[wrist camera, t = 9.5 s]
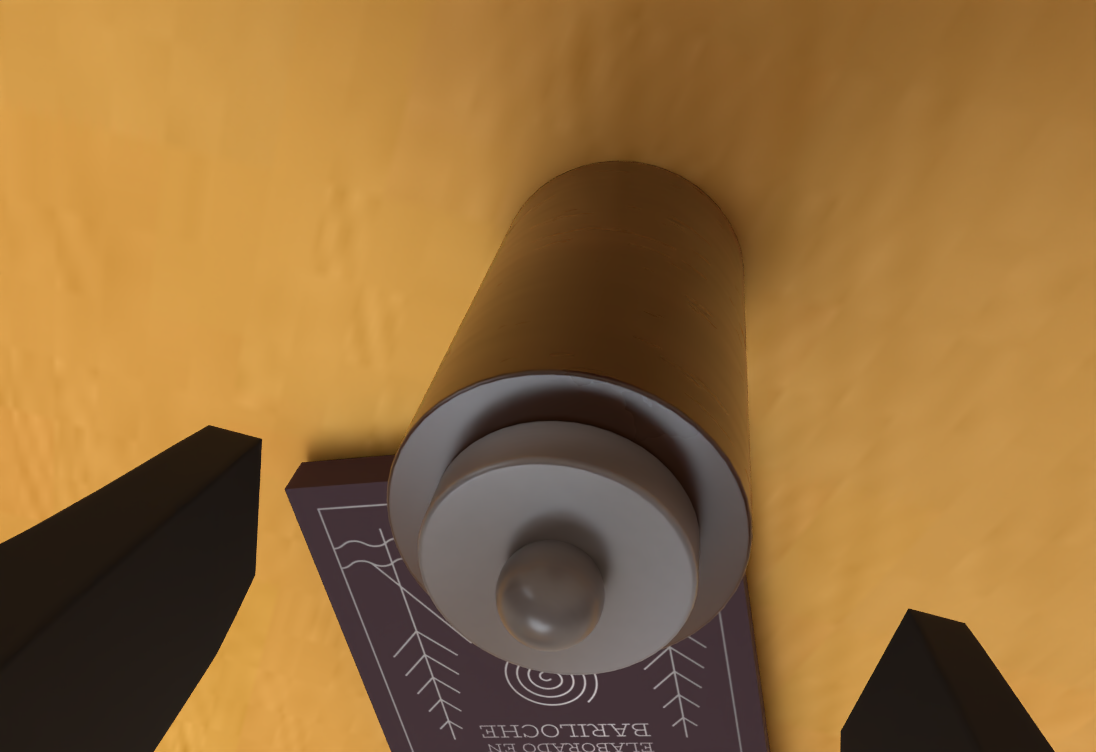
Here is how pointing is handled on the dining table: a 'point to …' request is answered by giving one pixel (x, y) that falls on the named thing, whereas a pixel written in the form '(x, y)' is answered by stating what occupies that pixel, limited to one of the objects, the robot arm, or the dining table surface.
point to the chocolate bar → (492, 683)
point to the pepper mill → (588, 431)
